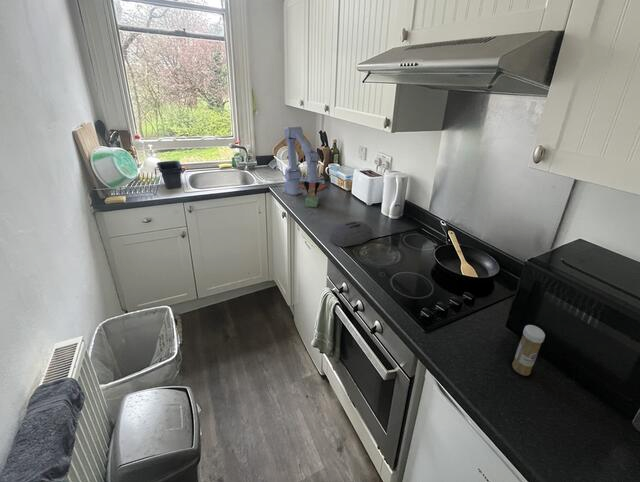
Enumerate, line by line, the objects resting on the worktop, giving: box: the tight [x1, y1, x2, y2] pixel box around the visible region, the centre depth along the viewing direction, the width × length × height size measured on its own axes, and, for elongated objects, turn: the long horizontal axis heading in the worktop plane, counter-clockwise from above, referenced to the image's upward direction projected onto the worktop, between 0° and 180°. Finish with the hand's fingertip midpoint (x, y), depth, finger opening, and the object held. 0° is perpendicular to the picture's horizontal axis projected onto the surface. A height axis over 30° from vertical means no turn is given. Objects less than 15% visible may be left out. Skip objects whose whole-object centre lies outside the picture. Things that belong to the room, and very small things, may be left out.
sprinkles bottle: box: [511, 324, 546, 376], centre depth 78 cm, size 5×5×13 cm
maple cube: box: [307, 188, 316, 197], centre depth 180 cm, size 4×4×4 cm
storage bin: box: [154, 160, 183, 190], centre depth 200 cm, size 21×16×14 cm
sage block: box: [304, 195, 319, 208], centre depth 182 cm, size 7×7×4 cm
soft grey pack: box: [330, 220, 373, 248], centre depth 142 cm, size 15×8×20 cm
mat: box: [299, 183, 328, 193], centre depth 215 cm, size 16×14×1 cm
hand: (311, 194), depth 180 cm, fingers closed on maple cube, 4 cm apart
